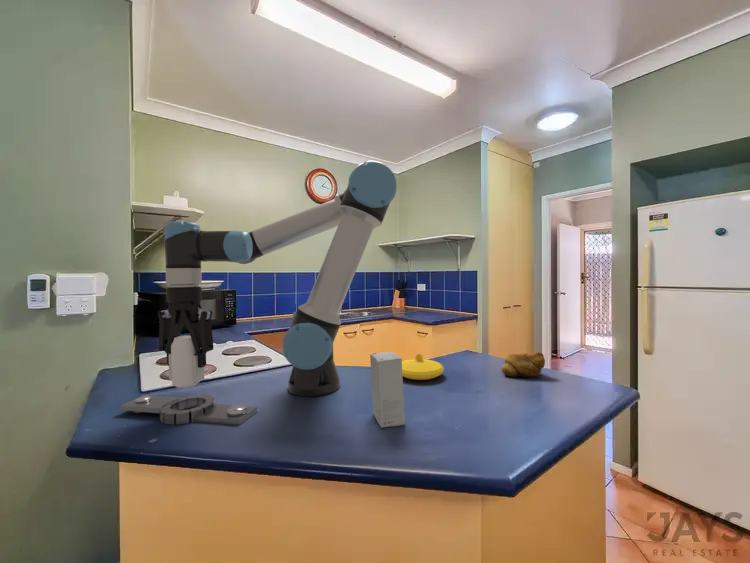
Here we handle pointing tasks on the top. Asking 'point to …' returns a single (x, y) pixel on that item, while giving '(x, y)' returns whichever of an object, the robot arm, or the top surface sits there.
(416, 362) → the yellow lidded dish
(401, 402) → the skincare box
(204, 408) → the grey pipe clamp bracket
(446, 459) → the top surface
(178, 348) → the beverage can
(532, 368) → the bread roll
